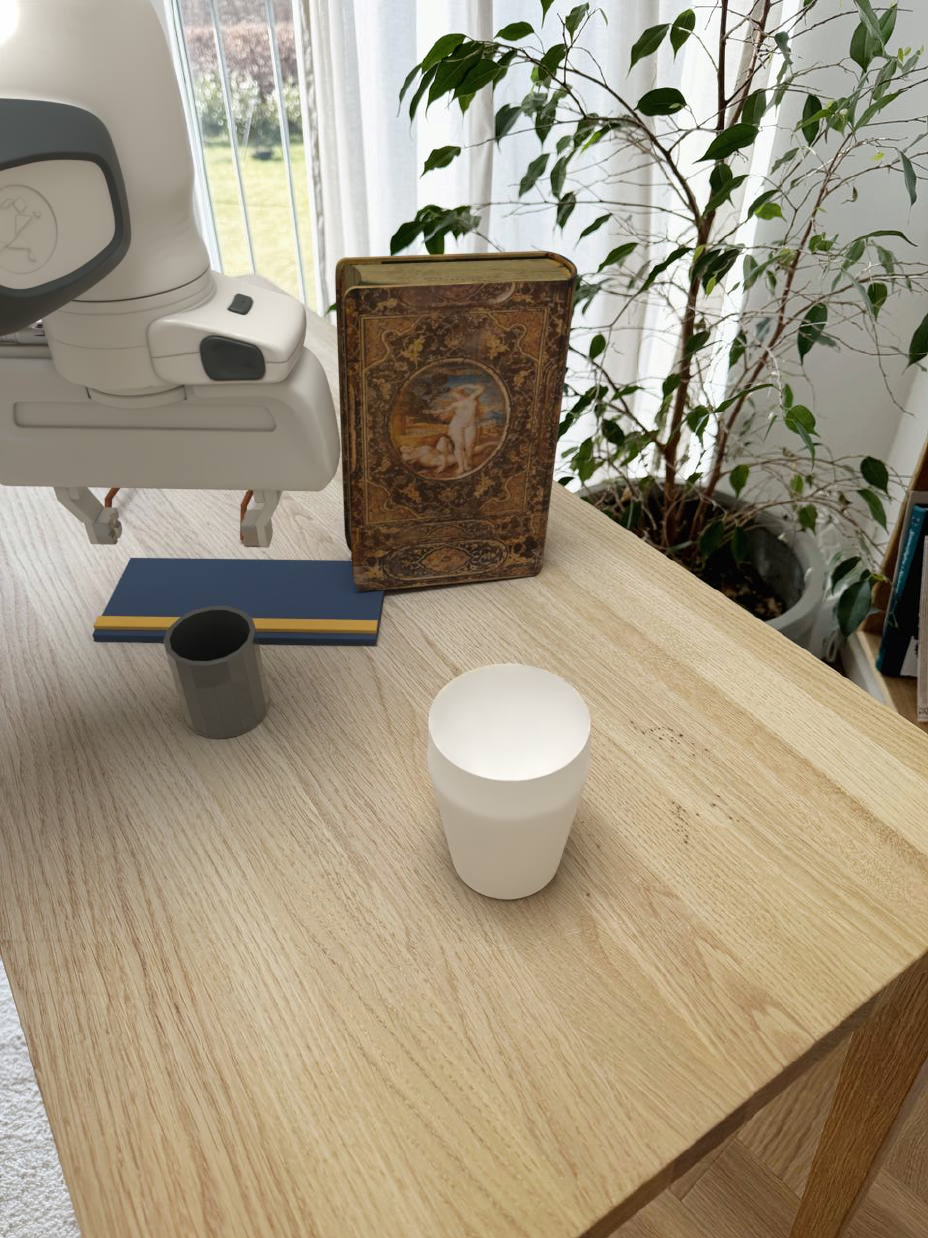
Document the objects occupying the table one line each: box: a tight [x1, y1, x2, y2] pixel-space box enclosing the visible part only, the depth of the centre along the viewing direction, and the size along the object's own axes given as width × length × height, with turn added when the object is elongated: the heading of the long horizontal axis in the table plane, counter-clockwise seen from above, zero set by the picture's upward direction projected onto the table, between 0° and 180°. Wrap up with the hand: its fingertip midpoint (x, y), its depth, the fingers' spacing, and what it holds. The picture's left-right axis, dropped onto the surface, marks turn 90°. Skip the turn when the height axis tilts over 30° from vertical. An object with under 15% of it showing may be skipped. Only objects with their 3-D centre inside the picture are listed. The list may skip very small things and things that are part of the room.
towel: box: [91, 557, 386, 647], centre depth 78 cm, size 22×10×1 cm, turn 88°
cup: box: [426, 663, 591, 900], centre depth 56 cm, size 9×9×12 cm
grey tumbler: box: [163, 606, 271, 740], centre depth 67 cm, size 6×6×7 cm
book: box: [334, 250, 578, 591], centre depth 74 cm, size 16×6×25 cm, turn 102°
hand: (183, 540), depth 60 cm, fingers open, 8 cm apart
